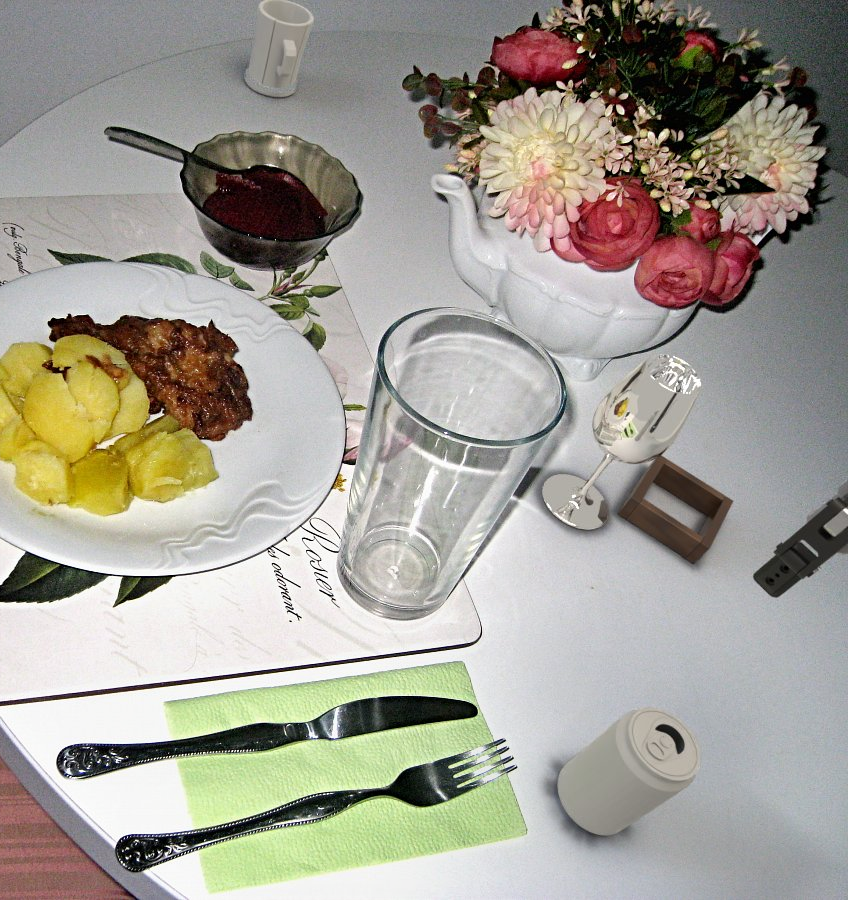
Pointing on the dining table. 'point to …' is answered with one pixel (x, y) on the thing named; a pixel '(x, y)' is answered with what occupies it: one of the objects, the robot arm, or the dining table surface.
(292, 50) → the cup
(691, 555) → the frame
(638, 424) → the wineglass
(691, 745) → the beverage can
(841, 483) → the robot arm
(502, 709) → the dining table surface
